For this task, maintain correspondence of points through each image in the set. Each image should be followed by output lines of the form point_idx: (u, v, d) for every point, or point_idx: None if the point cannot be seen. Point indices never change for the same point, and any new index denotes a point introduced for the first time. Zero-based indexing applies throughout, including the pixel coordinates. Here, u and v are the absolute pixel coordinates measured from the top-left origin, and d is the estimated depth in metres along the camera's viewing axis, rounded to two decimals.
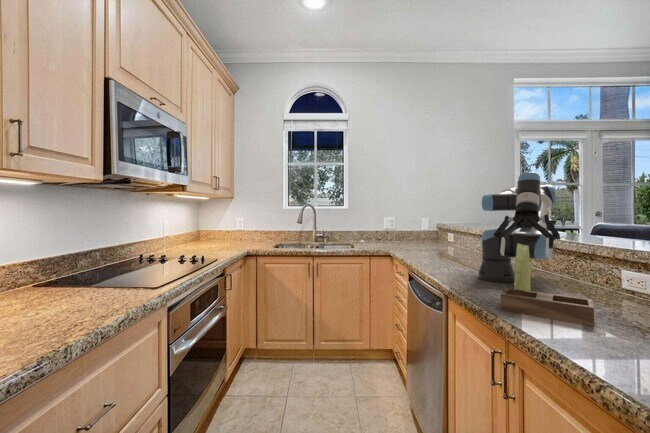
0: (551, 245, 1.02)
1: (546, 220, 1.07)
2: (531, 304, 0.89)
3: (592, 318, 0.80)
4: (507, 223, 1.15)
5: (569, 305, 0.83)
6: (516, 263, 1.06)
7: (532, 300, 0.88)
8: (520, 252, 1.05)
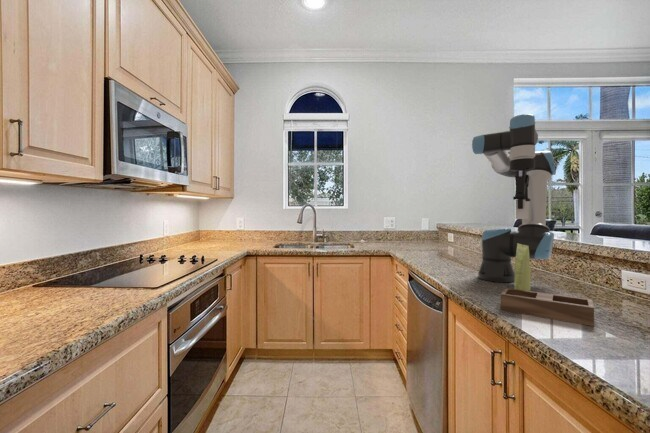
0: (517, 207, 0.99)
1: None
2: (531, 304, 0.89)
3: (592, 318, 0.80)
4: None
5: (569, 305, 0.83)
6: (516, 263, 1.06)
7: (532, 300, 0.88)
8: (520, 252, 1.05)
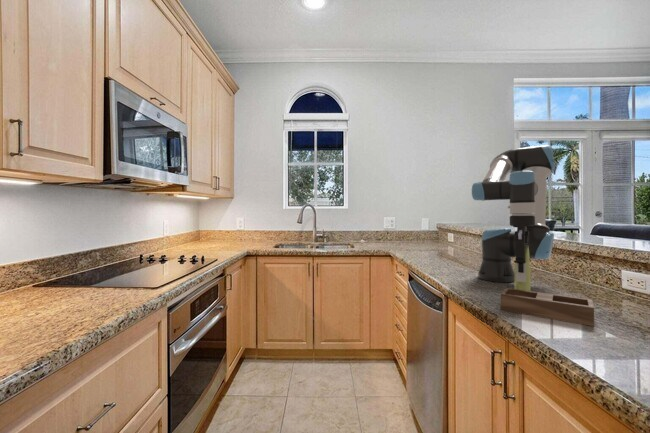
0: None
1: None
2: (531, 304, 0.89)
3: (592, 318, 0.80)
4: None
5: (569, 305, 0.83)
6: None
7: (532, 300, 0.88)
8: None
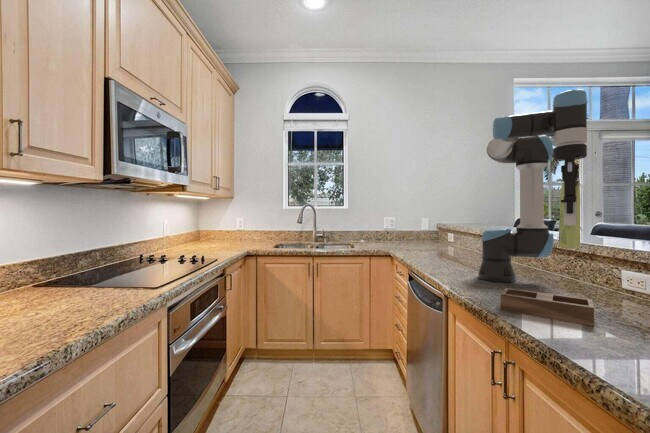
0: (566, 212, 0.83)
1: None
2: (531, 304, 0.89)
3: (592, 318, 0.80)
4: None
5: (569, 305, 0.83)
6: (562, 205, 0.87)
7: (532, 300, 0.88)
8: None
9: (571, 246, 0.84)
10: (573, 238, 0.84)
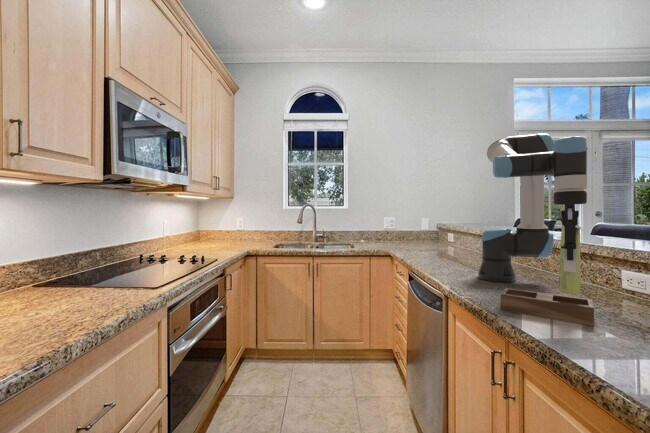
0: (566, 258, 0.84)
1: None
2: (531, 304, 0.89)
3: (592, 318, 0.80)
4: None
5: (569, 305, 0.83)
6: (562, 249, 0.87)
7: (532, 300, 0.88)
8: None
9: (571, 292, 0.85)
10: (574, 284, 0.84)
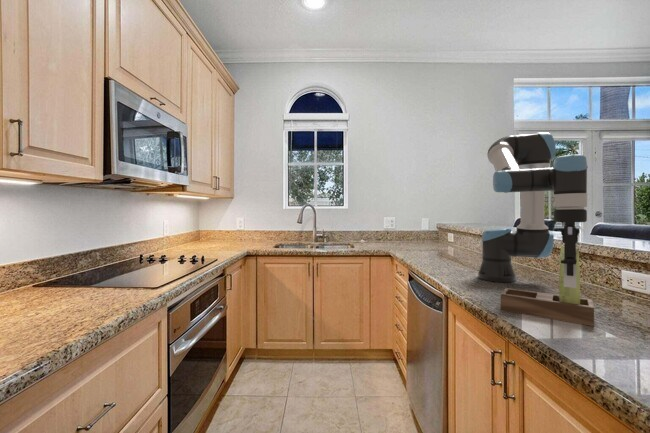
0: (566, 273, 0.82)
1: None
2: (531, 304, 0.89)
3: (592, 318, 0.80)
4: None
5: (569, 305, 0.83)
6: (561, 270, 0.88)
7: (532, 300, 0.88)
8: None
9: None
10: None
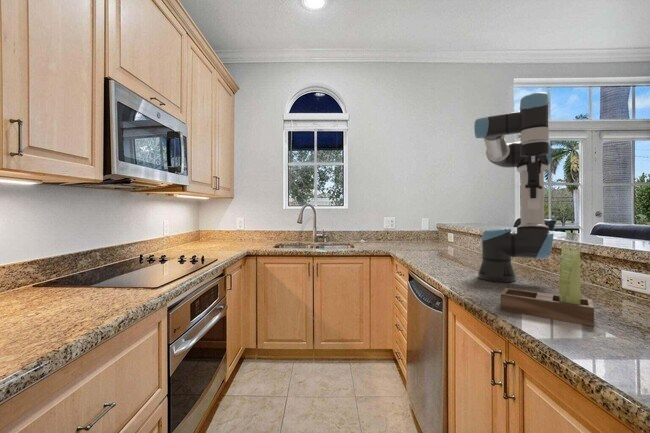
0: (530, 196, 0.90)
1: None
2: (531, 304, 0.89)
3: (592, 318, 0.80)
4: None
5: (569, 305, 0.83)
6: (562, 270, 0.88)
7: (532, 300, 0.88)
8: (567, 256, 0.87)
9: None
10: None
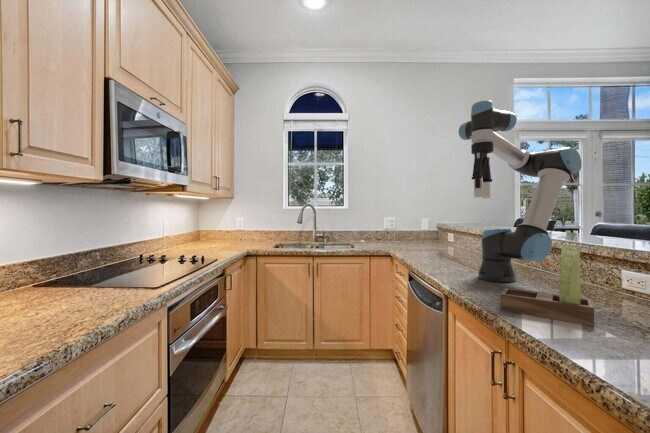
0: None
1: None
2: (531, 304, 0.89)
3: (592, 318, 0.80)
4: None
5: (569, 305, 0.83)
6: (562, 270, 0.88)
7: (532, 300, 0.88)
8: (567, 256, 0.87)
9: None
10: None
